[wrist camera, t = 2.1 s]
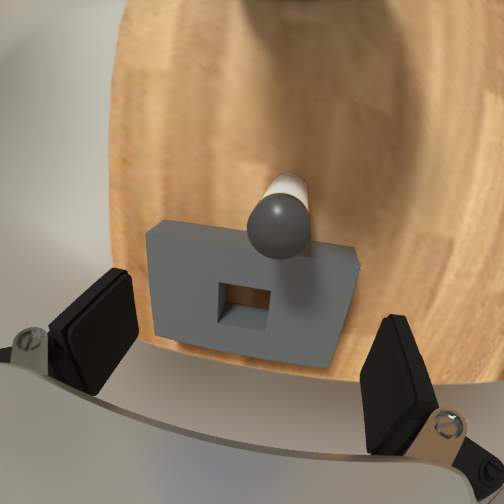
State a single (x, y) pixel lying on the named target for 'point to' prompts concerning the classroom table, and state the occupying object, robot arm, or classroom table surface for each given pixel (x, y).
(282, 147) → the classroom table surface
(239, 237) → the socket block
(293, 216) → the peg
